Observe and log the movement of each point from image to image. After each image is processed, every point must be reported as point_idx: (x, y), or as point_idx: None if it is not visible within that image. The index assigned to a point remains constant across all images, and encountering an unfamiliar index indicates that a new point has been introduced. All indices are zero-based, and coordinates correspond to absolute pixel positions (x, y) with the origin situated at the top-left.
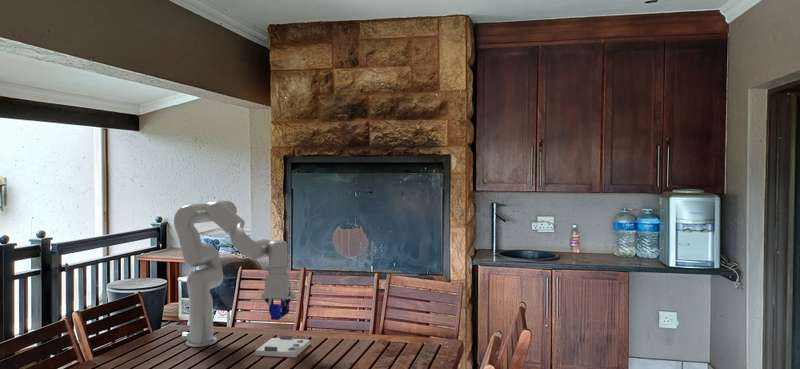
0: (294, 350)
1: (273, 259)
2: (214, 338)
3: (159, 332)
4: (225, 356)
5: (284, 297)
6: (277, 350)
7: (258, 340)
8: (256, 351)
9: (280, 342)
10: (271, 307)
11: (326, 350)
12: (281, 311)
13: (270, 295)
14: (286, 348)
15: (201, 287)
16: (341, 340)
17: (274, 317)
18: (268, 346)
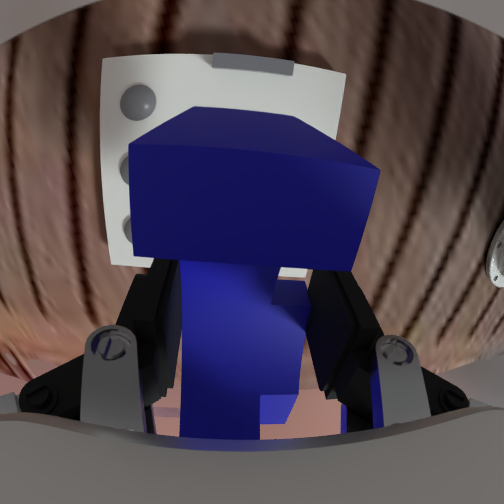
0: (116, 84)
1: None
2: (494, 266)
3: None
4: (453, 80)
5: (5, 438)
6: (213, 69)
7: (362, 283)
8: (336, 72)
9: None
10: (337, 146)
11: (25, 182)
12: (220, 325)
13: (459, 484)
14: (171, 110)
15: None
16: (38, 298)
17: (246, 113)
18: (272, 71)
